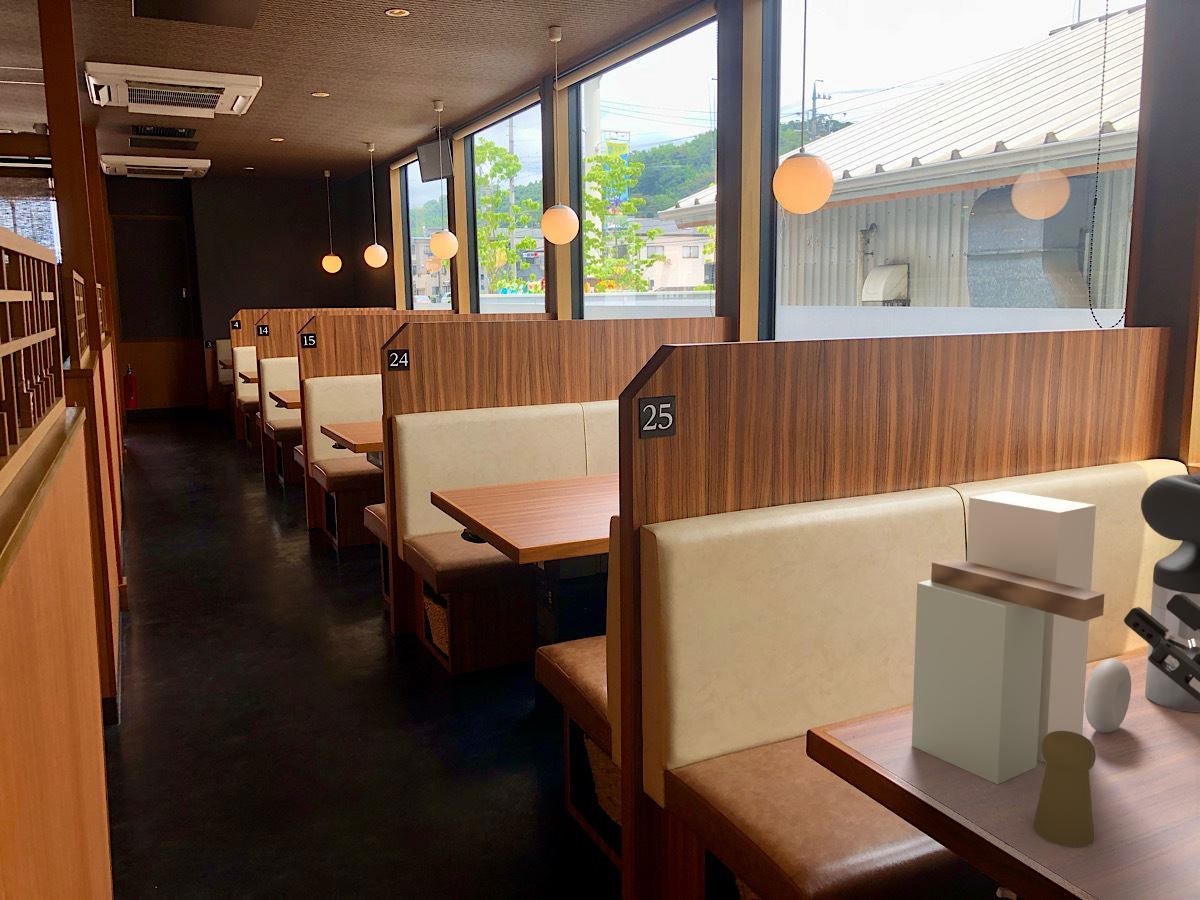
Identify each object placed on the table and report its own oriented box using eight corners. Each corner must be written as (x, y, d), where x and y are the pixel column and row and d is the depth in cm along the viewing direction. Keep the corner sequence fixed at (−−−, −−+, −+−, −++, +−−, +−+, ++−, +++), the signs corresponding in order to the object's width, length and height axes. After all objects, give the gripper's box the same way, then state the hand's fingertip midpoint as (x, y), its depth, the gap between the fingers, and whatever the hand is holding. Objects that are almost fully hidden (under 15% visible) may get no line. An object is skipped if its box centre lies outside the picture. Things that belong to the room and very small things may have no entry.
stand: (1081, 746, 121) (1096, 505, 117) (997, 784, 111) (1010, 523, 107) (995, 713, 131) (1005, 490, 127) (911, 745, 122) (919, 506, 117)
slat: (931, 581, 119) (931, 562, 119) (950, 576, 121) (951, 557, 121) (1083, 621, 103) (1084, 599, 102) (1103, 615, 105) (1104, 593, 105)
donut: (1107, 746, 121) (1111, 673, 119) (1079, 738, 123) (1083, 666, 122) (1132, 723, 127) (1137, 653, 126) (1105, 716, 130) (1109, 647, 129)
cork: (1108, 840, 99) (1114, 743, 98) (1064, 852, 97) (1070, 752, 96) (1062, 813, 105) (1068, 720, 103) (1020, 823, 103) (1025, 728, 101)
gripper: (1357, 682, 89) (1205, 569, 100) (1292, 717, 82) (1135, 591, 92) (1305, 732, 93) (1164, 618, 104) (1239, 770, 86) (1094, 643, 96)
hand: (1151, 606), depth 98 cm, fingers open, 8 cm apart
